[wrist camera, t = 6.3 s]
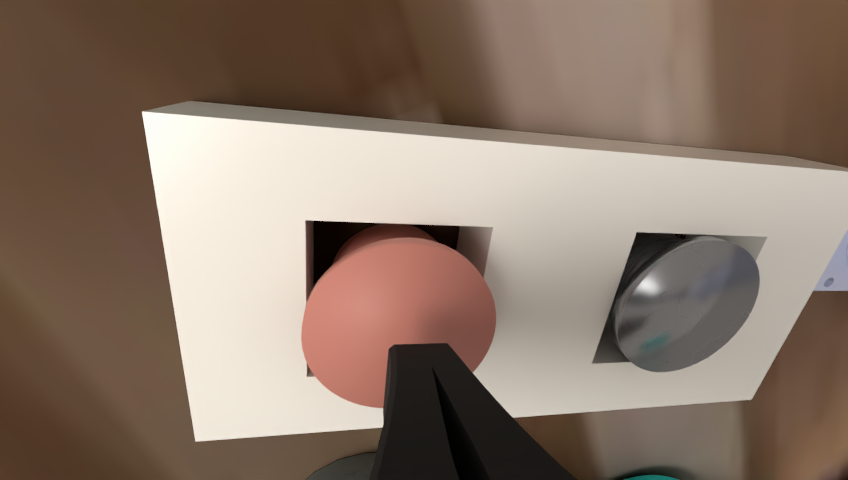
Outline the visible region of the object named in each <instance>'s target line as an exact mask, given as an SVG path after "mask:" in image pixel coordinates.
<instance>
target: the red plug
mask: <svg viewBox="0 0 848 480" xmlns="http://www.w3.org/2000/svg"><path fill="white" fill-rule="evenodd" d="M495 327H496V309H495V302H494V299H493V296H492V293H491V291H490V289H489V287H488V285H487V283H486V282H485V280H484V279H483V277H482V276H481V274H480V273H479V272H478V270H477V269H476V268H475V266H474V265H473V264H472V263H471V262H470V261H469V260H468V259H467V258H466V257H464V256H463V255H462V254H460V253H459V252H457V251H456V250H454V249H452V248H450V247H448V246H446V245H443V244H441V243H438V242H437V241H436V240H435V239H434V238H433V237H432V236H430V235H429V234H428V233H426V232H425V231H423V230H421V229H419V228H417V227H414V226H411V225H407V224H393V223H384V224H378V225H375V226H371V227H368V228H366V229H364V230H362V231H360V232H358V233H356V234H355V235H354V236H352V237H351V238H350V239H349V240H347V241H346V242H345V243H344V244H343V246H342V247H341V248H340V249H339V251H338V253H337V254H336V256H335V258H334V260H333V263H332V266H331V267H330V268H329V269H328V270H327V271H326V272H325V273H324V274H323V275H322V277H321V278H320V279H319V280H318V282H317V283H316V285H315V286H314V288H313V290H312V291H311V293H310V296H309V298H308V301H307V303H306V307H305V311H304V316H303V322H302V332H301V341H302V349H303V353H304V357H305V360H306V362H307V364H308V366H309V368H310V370H311V371H312V373H313V374H314V376H315V377H316V378H317V379H318V380H319V382H320V383H321V384H322V385H323V386H325V387H326V388H327V389H328V390H330V391H331V392H332V393H334V394H336V395H337V396H339V397H341V398H343V399H345V400H347V401H350V402H352V403H356V404H359V405H362V406H368V407H373V408H383V405H384V394H385V383H386V372H387V361H388V350H389V348H390V347H392V346H393V345H394V344H429V343H448V344H449V345H450V347H451V348H452V349H453V350H454V351H455V352H456V354H457V355H458V356H459V357H460V358H461V360H462V361H463V362H464V363H465V364H466V366H467V367H468V368H469V369H470V370H471V371H472V373H473V372H474V371H475V370H476V368H477V367H478V366H479V365H480V363H481V362H482V361H483V359H484V357H485V356H486V354H487V352H488V350H489V348H490V346H491V343H492V340H493V337H494V333H495Z"/></svg>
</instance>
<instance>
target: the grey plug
mask: <svg viewBox="0 0 848 480" xmlns="http://www.w3.org/2000/svg"><path fill="white" fill-rule="evenodd" d="M759 285H760V276H759V270H758V266H757V263H756V262H755V260H754V258H753V257H752V255H751V254H750V253H749V252H748V251H746V250H745V249H744V248H742V247H740V246H738V245H736V244H733V243H731V242H729V241H727V240H725V239H722V238H718V237H713V236H697V237H691V238H687V239H684V240H683V239H681V238H679V237H677V236H675V235H673V234H671V233H645V232H637V233H636V236H635V239H634V242H633V245H632V247H631V250H630V253H629V256H628V259H627V262H626V265H625V268H624V271H623V274H622V277H621V280H620V282H619V285H618V288H617V291H616V294H615V297H614V300H613V303H612V306H611V309H610V312H609V315H608V317H609V318H610V319H611V332H612V337H613V340H614V343H615V344H616V346H617V348H618V349H619V350H620V351H621V352H622V353H623V354H624V355H625V356H626V357H627V358H628V359H629V360H630V361H631V362H632V363H633V364H634V365H636V366H637V367H639V368H641V369H644V370H647V371H651V372H671V371H676V370H681V369H684V368H687V367H690V366H692V365H694V364H697V363H699V362H700V361H702V360H704V359H706V358H708V357H709V356H711V355H712V354H714V353H715V352H716V351H718V350H719V349H720V348H722V347H723V346H724V345H725V344H726V343H727V342H729V341H730V339H731V338H732V337H733V336H734V335H735V334H736V333H737V332H738V331H739V329H740V328H741V327H742V326H743V324H744V323H745V321H746V320H747V318H748V316H749V315H750V313H751V311H752V309H753V307H754V305H755V302H756V299H757V296H758V291H759Z"/></svg>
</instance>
